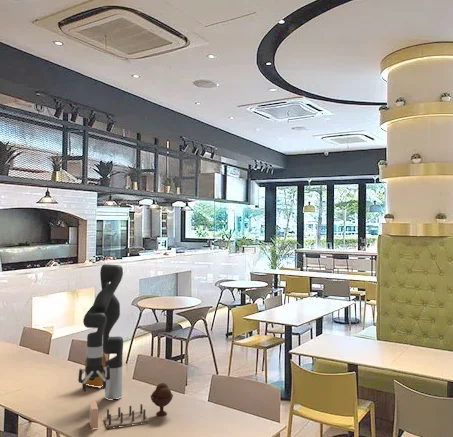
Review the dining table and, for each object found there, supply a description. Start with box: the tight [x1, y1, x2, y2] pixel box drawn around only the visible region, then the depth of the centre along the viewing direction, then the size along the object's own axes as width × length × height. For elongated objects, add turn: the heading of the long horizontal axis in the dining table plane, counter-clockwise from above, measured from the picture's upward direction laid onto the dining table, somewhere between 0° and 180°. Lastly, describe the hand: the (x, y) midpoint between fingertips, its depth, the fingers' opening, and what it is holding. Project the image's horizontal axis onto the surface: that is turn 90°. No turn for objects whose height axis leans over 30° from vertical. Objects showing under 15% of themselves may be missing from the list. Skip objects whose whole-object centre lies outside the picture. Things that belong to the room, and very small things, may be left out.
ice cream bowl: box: [150, 382, 174, 417], centre depth 229 cm, size 11×11×15 cm
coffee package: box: [84, 352, 107, 386], centre depth 270 cm, size 10×12×22 cm
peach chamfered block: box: [89, 400, 99, 429], centre depth 216 cm, size 10×3×10 cm, turn 22°
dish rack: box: [103, 403, 149, 429], centre depth 221 cm, size 12×19×6 cm, turn 112°
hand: (94, 390), depth 216 cm, fingers open, 8 cm apart
